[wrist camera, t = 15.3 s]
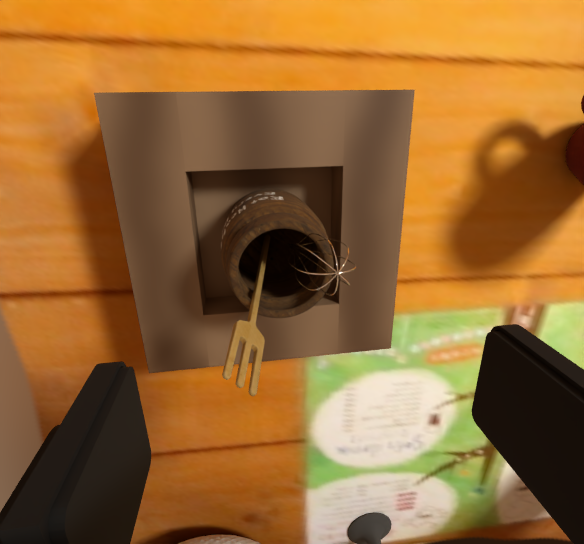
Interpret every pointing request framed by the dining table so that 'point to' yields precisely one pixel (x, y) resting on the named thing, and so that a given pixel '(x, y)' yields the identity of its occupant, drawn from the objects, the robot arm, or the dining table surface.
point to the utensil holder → (273, 267)
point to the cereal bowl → (220, 540)
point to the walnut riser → (241, 181)
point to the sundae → (369, 528)
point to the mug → (576, 152)
